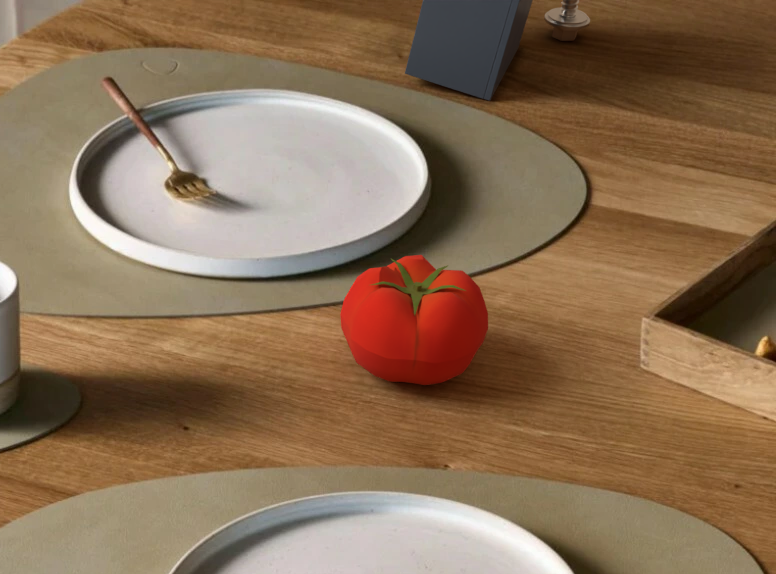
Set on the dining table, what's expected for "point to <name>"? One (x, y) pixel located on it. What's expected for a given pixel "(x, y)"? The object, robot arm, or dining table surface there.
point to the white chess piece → (567, 20)
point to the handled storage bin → (467, 43)
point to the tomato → (414, 321)
